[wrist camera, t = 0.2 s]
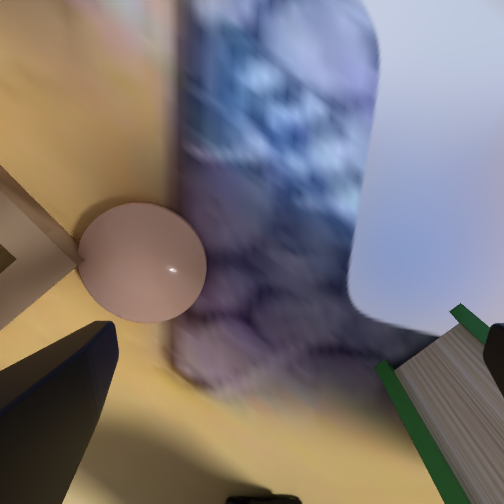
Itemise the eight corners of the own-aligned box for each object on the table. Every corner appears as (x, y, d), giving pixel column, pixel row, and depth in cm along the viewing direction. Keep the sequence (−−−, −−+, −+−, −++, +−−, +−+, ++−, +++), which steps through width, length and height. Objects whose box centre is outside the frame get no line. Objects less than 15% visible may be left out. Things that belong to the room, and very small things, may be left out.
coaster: (206, 319, 25) (205, 325, 24) (89, 314, 25) (84, 320, 24) (207, 205, 22) (206, 207, 21) (76, 198, 22) (70, 201, 21)
